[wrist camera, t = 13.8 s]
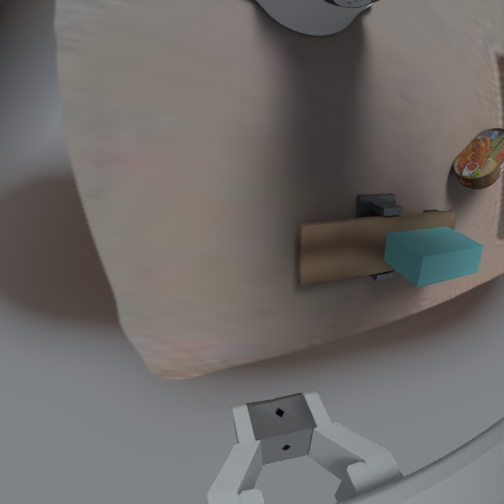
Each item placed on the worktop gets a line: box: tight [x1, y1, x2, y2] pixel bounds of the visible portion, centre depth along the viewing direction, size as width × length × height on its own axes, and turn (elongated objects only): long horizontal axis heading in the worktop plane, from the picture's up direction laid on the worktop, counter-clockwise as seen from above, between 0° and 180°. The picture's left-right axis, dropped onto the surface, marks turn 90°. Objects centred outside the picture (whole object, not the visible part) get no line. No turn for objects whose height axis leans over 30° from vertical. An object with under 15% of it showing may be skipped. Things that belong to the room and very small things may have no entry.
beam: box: [298, 210, 456, 286], centre depth 41 cm, size 8×26×2 cm, turn 93°
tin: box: [453, 128, 504, 189], centre depth 39 cm, size 15×3×8 cm, turn 130°
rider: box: [384, 226, 483, 288], centre depth 37 cm, size 4×12×8 cm, turn 93°
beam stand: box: [356, 194, 438, 282], centre depth 43 cm, size 12×16×5 cm
